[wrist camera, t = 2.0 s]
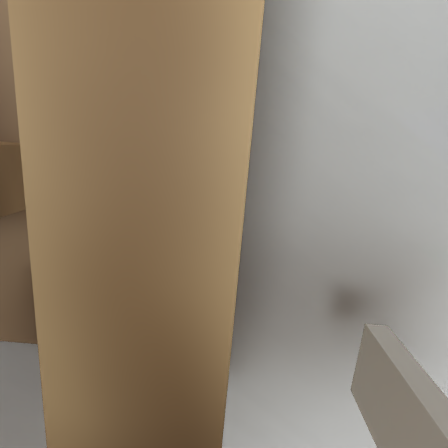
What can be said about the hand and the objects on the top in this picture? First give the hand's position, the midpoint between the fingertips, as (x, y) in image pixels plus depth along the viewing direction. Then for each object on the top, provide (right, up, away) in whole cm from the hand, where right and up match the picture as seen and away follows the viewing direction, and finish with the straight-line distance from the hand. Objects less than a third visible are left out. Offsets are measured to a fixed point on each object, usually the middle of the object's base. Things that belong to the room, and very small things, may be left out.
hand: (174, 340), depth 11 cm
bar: (0, +5, -1) cm, 5 cm away
